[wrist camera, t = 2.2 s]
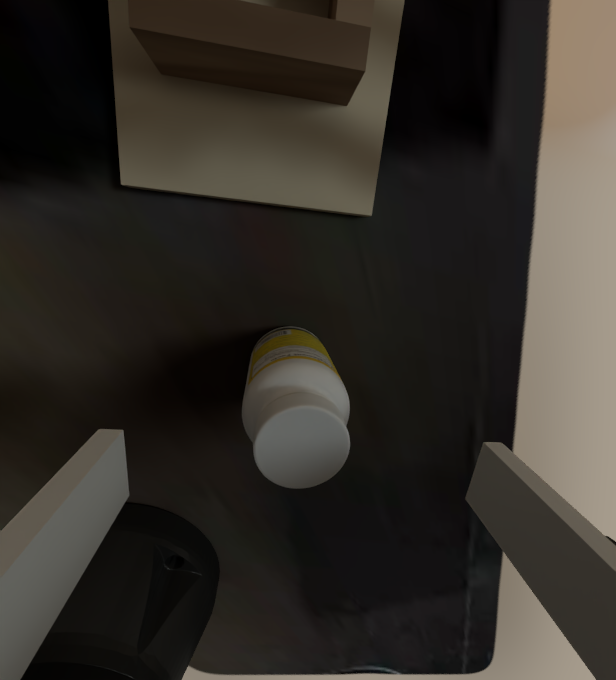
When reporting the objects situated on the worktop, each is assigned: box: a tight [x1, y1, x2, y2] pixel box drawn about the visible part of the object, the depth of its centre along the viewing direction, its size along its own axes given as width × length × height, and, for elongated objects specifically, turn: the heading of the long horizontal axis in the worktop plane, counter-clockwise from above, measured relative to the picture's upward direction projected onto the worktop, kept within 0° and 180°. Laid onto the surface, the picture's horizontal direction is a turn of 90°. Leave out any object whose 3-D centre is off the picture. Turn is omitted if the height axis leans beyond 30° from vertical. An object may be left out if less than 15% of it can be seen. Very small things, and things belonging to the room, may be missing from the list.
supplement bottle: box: [242, 326, 350, 488], centre depth 17 cm, size 5×5×10 cm
